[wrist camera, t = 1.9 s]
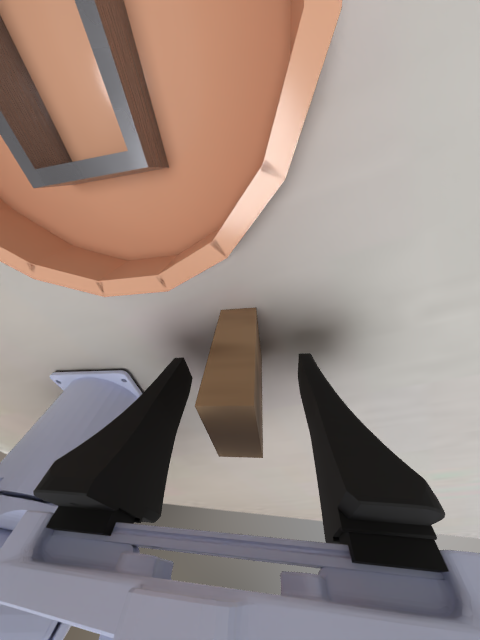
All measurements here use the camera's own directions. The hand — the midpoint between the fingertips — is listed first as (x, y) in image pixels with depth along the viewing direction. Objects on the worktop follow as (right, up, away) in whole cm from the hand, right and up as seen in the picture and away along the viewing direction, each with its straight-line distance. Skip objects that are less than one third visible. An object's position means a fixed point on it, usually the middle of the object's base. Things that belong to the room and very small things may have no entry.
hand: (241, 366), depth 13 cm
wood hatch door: (0, +2, +2) cm, 3 cm away
